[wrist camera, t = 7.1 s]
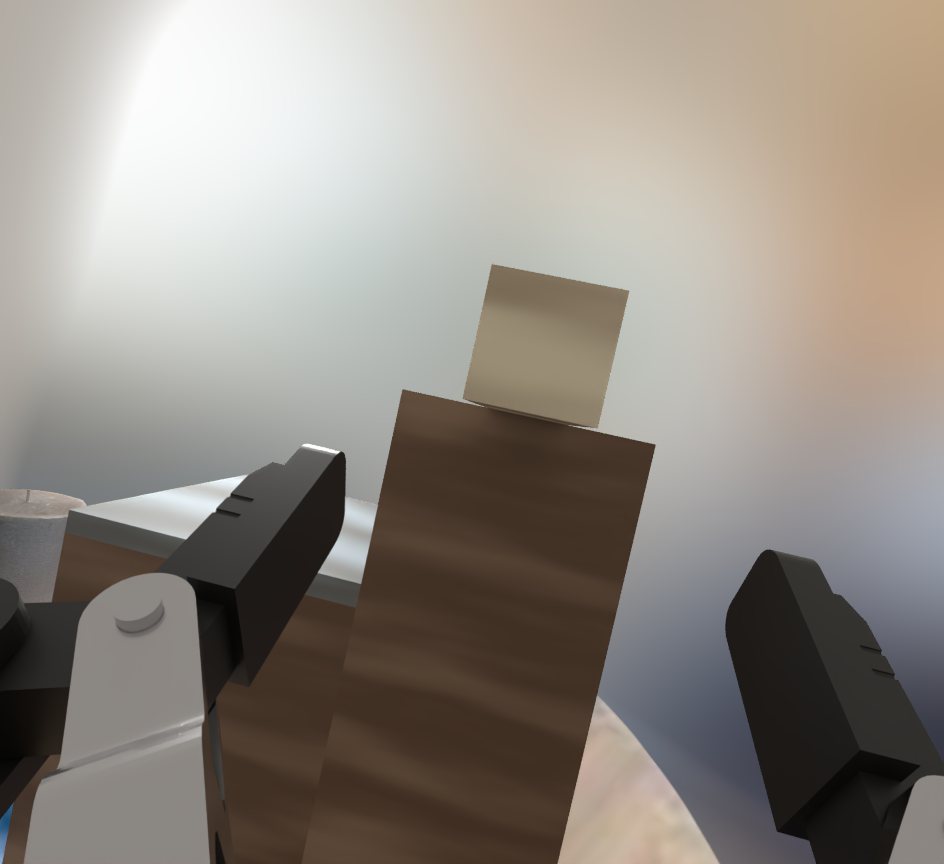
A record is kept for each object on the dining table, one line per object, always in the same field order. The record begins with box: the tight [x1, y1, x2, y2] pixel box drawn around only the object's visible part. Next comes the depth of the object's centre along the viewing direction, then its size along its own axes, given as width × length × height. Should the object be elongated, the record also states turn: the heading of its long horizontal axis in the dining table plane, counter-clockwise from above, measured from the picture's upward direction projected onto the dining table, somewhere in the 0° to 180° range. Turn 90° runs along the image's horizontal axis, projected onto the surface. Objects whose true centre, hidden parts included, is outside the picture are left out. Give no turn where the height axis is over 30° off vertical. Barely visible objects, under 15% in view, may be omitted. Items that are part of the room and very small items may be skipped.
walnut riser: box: [2, 390, 655, 864], centre depth 29 cm, size 15×23×32 cm, turn 85°
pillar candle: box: [0, 489, 86, 603], centre depth 52 cm, size 10×10×15 cm
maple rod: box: [463, 265, 629, 428], centre depth 22 cm, size 22×3×3 cm, turn 175°
